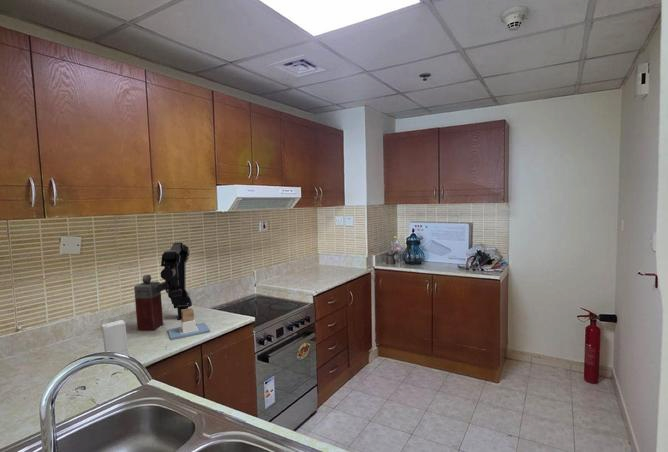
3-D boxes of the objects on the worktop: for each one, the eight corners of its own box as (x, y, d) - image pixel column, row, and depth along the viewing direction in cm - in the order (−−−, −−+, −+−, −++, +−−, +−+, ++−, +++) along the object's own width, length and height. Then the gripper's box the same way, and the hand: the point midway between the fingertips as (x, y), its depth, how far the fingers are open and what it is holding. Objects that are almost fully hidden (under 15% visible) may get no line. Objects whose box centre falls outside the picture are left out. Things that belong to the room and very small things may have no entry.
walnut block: (181, 319, 186) (181, 309, 185) (192, 317, 188) (191, 308, 188) (183, 322, 181) (182, 312, 181) (194, 320, 184) (193, 310, 183)
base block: (181, 329, 186) (180, 319, 186) (193, 326, 189) (193, 317, 189) (183, 332, 181) (182, 322, 181) (196, 330, 184) (195, 320, 184)
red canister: (143, 324, 198) (139, 273, 196) (163, 324, 197) (159, 272, 195) (133, 330, 189) (128, 276, 187) (154, 330, 188) (149, 276, 186)
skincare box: (126, 351, 163) (123, 318, 162) (129, 356, 158) (126, 322, 157) (104, 357, 157) (101, 323, 156) (106, 362, 153) (103, 327, 152)
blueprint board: (167, 331, 187) (167, 329, 187) (204, 324, 196) (204, 321, 196) (170, 340, 175) (170, 337, 175) (210, 332, 183) (210, 329, 183)
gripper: (153, 275, 192) (155, 304, 193) (156, 281, 175) (158, 313, 177) (176, 272, 197) (178, 301, 198) (181, 278, 181) (183, 309, 182)
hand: (174, 306), depth 189 cm, fingers open, 9 cm apart
